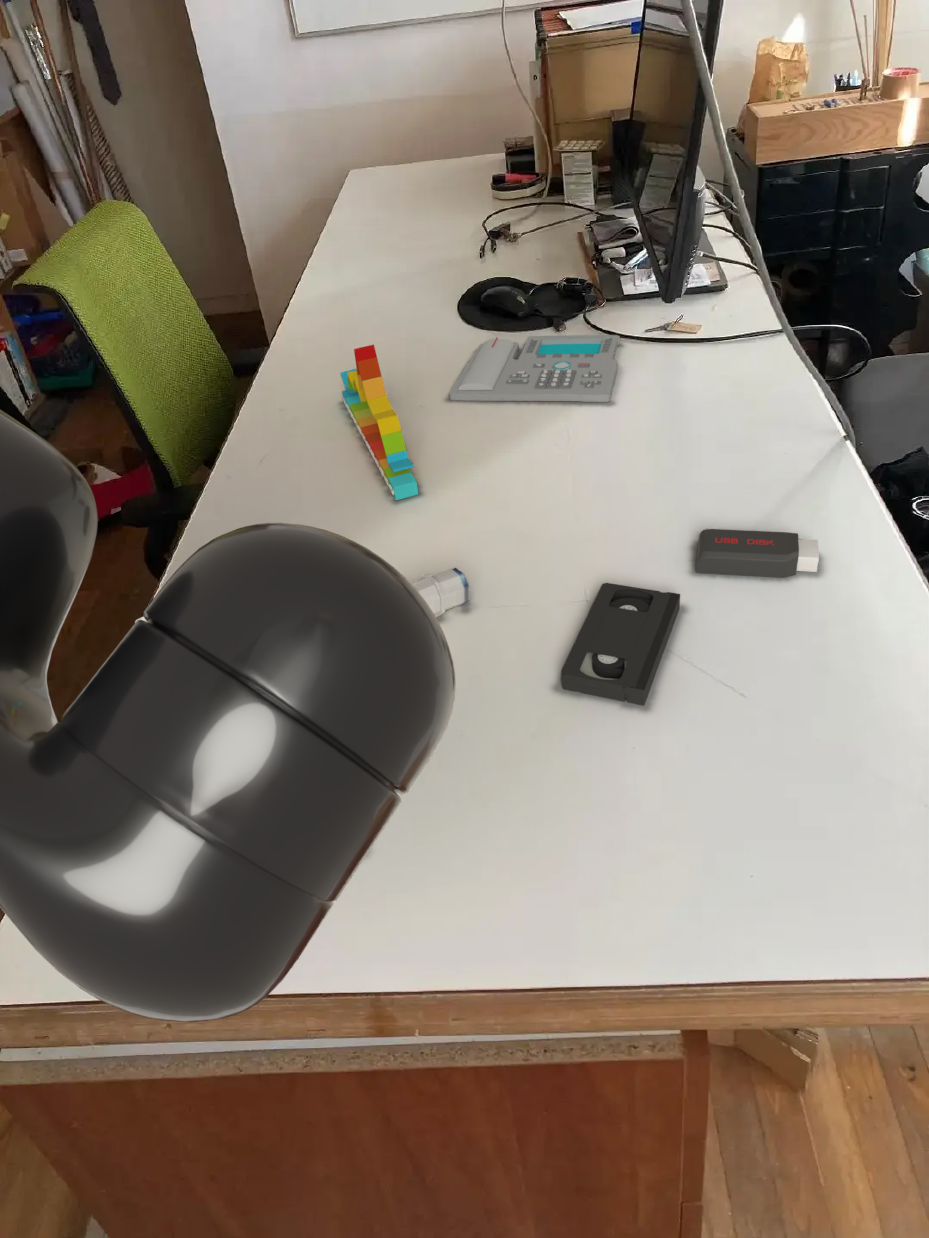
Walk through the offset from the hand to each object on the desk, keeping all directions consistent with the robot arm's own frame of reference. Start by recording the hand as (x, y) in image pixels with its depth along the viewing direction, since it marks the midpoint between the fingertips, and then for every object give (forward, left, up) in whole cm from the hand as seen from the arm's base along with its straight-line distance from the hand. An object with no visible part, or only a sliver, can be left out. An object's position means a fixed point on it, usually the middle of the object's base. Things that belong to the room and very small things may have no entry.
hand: (262, 760), depth 53 cm
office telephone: (+56, +80, -22) cm, 100 cm away
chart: (+27, +72, -22) cm, 81 cm away
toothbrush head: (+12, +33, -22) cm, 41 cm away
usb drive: (+54, +25, -22) cm, 64 cm away
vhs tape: (+35, +20, -22) cm, 46 cm away
